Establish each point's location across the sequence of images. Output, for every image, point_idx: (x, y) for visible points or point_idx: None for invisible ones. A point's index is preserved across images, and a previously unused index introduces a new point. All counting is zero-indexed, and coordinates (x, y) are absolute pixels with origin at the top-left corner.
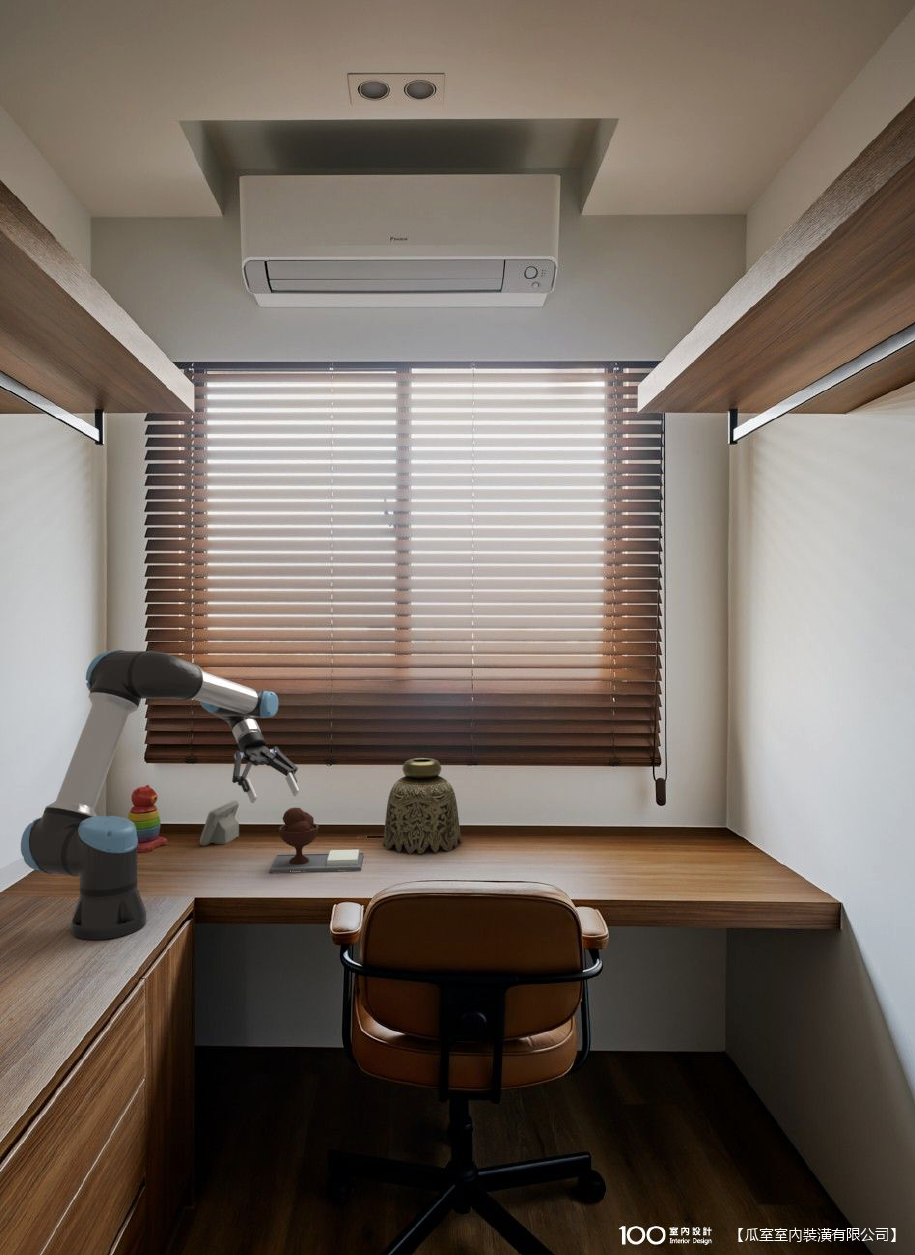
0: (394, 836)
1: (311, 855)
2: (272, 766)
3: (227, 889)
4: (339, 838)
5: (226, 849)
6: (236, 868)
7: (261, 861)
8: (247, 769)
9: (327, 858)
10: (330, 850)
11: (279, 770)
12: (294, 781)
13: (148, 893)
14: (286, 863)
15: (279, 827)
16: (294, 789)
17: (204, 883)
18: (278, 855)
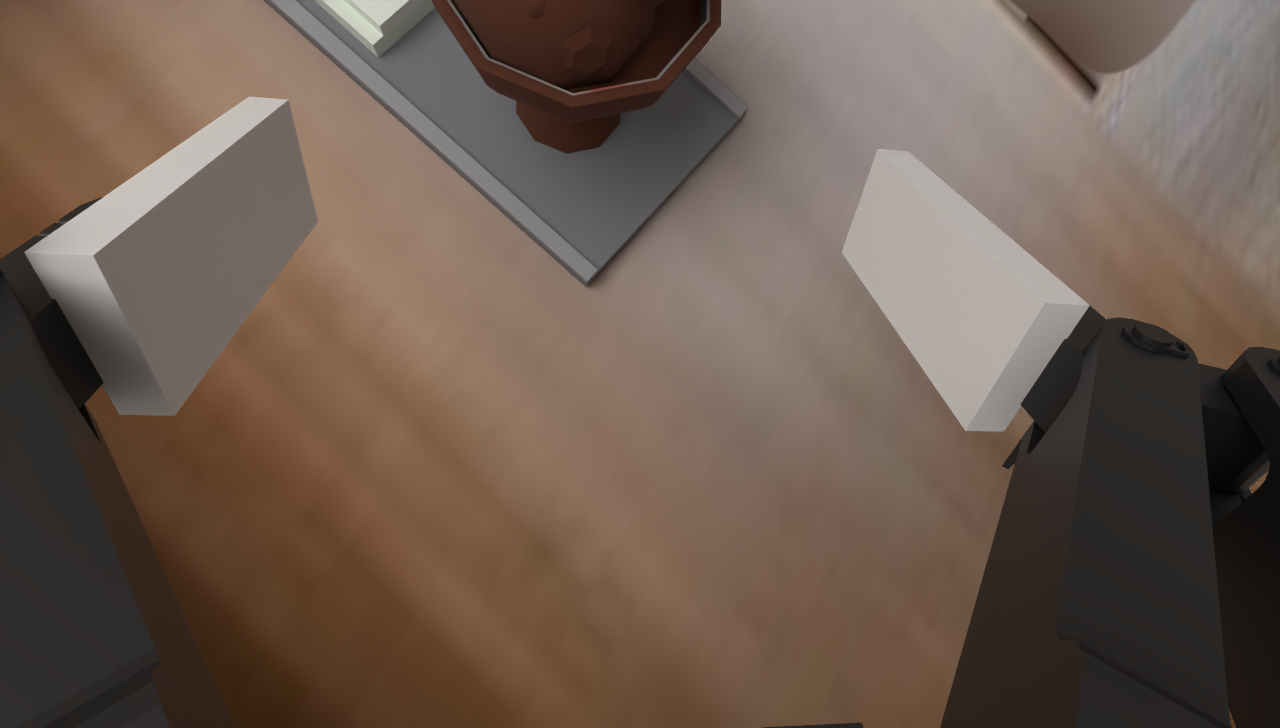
0: None
1: (454, 137)
2: (222, 710)
3: (970, 79)
4: None
5: (702, 647)
6: (820, 294)
7: (676, 300)
8: (1144, 463)
9: (427, 30)
10: (382, 21)
11: (142, 543)
12: (186, 152)
13: (1207, 274)
14: (632, 128)
15: (683, 67)
16: (278, 169)
17: (1009, 215)
18: (590, 265)
